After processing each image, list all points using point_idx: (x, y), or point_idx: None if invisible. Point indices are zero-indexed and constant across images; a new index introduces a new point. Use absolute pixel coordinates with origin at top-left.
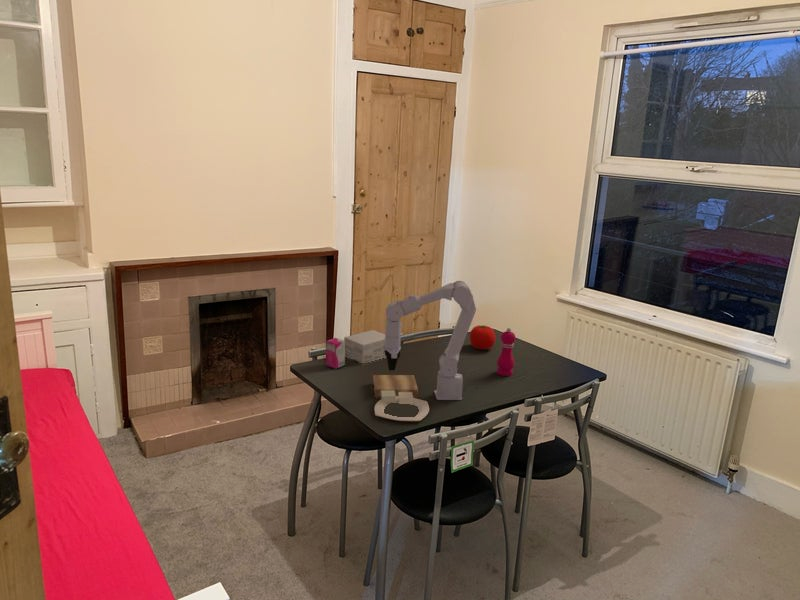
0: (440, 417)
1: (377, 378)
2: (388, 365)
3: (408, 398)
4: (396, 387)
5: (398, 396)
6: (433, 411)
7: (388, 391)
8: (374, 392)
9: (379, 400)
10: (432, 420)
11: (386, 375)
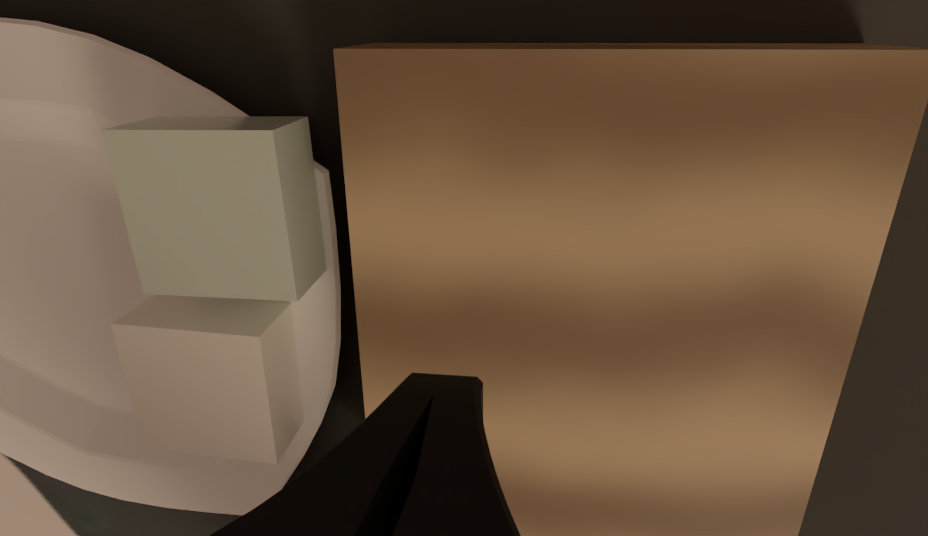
0: (88, 526)
1: (764, 113)
2: (358, 427)
3: (137, 404)
4: (419, 334)
5: (250, 315)
6: (170, 508)
7: (255, 227)
8: (486, 43)
9: (201, 92)
10: (27, 471)
11: (861, 262)
